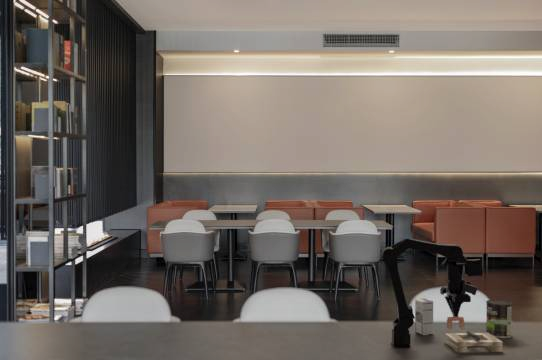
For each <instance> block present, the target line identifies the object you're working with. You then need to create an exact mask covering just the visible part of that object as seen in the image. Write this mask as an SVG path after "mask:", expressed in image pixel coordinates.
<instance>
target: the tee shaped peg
mask: <svg viewBox="0 0 542 360" xmlns="http://www.w3.org/2000/svg"><path fill="white" fill-rule="evenodd" d="M464 319H465V317H463V316H459V315H458V316H457V317H455V316H454V313H453V314H452V316H448V317H447V319H446V328H447V329H449V330H453V322H458V327H459V328H460V329H462V330H463V329H465V320H464Z"/></svg>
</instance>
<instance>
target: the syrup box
mask: <svg viewBox="0 0 542 360" xmlns="http://www.w3.org/2000/svg"><path fill="white" fill-rule="evenodd" d="M414 301H415V302H414V307H415V308H414V309H415V310H414V312H415V313H414V314H415V315H414V317H415V319H414V321H415V322H414V325H415V326H414V329H415V330H414V332H415V333H416V334H418V333H419V335H421V336H430V335H429V334H432V335H434V300H433V299H432V300H431V299H428V298H417V299H415V300H414Z"/></svg>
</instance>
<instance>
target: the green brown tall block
mask: <svg viewBox="0 0 542 360" xmlns="http://www.w3.org/2000/svg"><path fill="white" fill-rule="evenodd" d="M485 302H486V324H485V326H486V327H485V328H486V329H485V333H490V334H491V335H493V336H494V337H496V338H497V339H507V338H508V339H509V338H511V337H512V316H513V315H512V313H513V312H512V311H513V309H512V307H513V303H512V302H511V301H508V300H505V299H503V300H502V299H488V300H486V301H485Z"/></svg>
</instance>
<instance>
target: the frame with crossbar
mask: <svg viewBox="0 0 542 360" xmlns="http://www.w3.org/2000/svg"><path fill="white" fill-rule="evenodd" d="M466 339H467V340H466ZM468 339H469V340H468ZM471 339H473V340H471ZM444 344H445V345H447V346H448V347H449V348H450V347H451V348H450V349H452V350H453V351H454V352H455V353H462V354H464V353H468V347H484V348H486V349H488V350H489V351H490V352H492V353H503V349H504V348H503V346H504V342H503V341H502V340H500V338H496V337H494V336H493V335H491V334H490V333H486V332H473V331H471V330H466V332H455V333H454V332H448V333H447V332H445V333H444Z"/></svg>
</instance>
